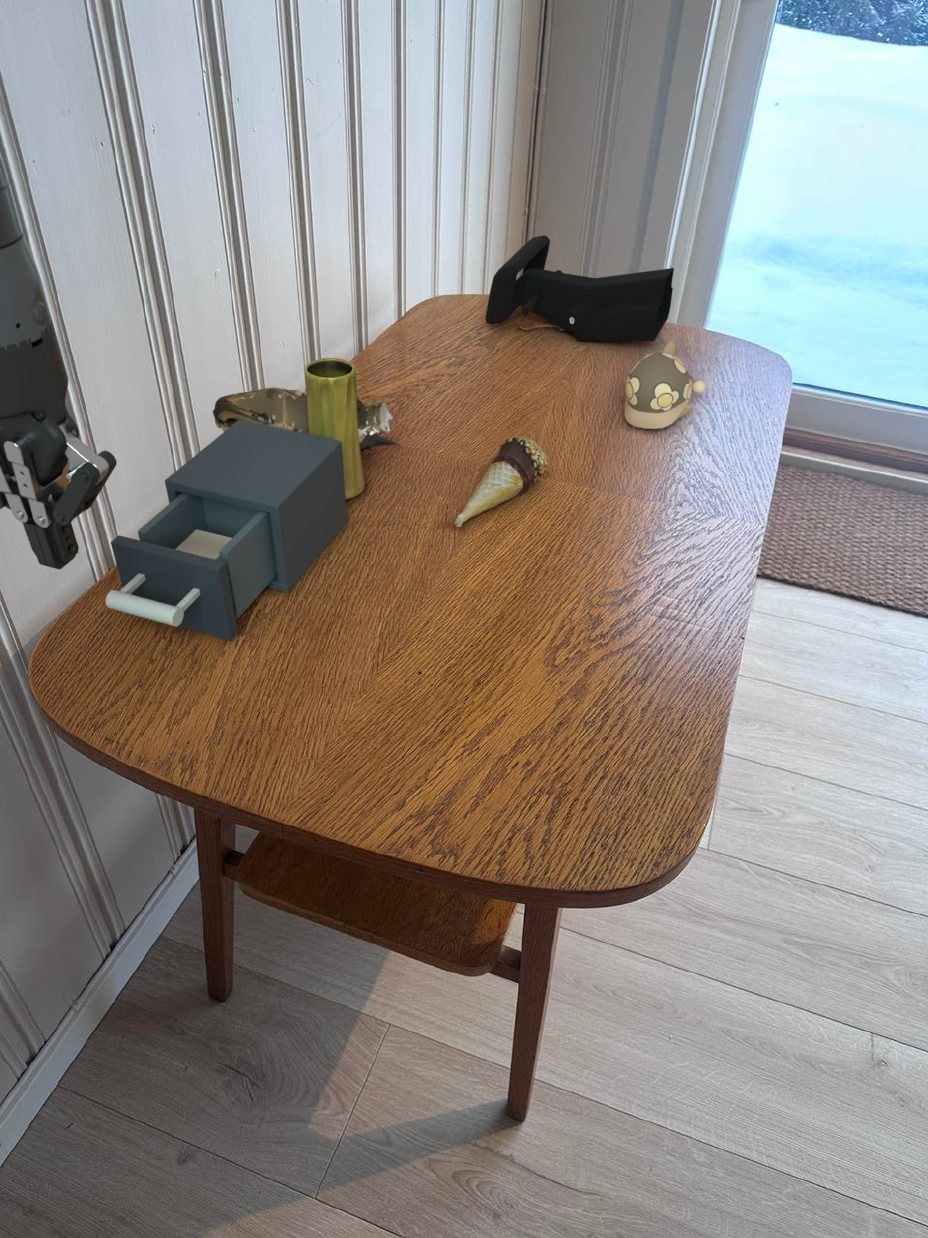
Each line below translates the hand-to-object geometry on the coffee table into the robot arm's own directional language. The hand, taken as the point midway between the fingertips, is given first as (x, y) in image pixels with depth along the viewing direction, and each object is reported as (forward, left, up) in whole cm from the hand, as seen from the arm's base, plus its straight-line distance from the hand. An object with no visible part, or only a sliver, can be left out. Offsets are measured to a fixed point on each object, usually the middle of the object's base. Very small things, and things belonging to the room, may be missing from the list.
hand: (59, 561), depth 62 cm
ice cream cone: (+36, -17, -15) cm, 43 cm away
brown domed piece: (+82, -34, -14) cm, 89 cm away
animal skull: (+38, +4, -5) cm, 39 cm away
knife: (+95, -14, -15) cm, 97 cm away
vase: (+39, -2, -15) cm, 42 cm away
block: (+16, 0, -13) cm, 21 cm away
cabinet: (+26, 0, -15) cm, 30 cm away
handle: (+96, -18, -16) cm, 99 cm away
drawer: (+14, 0, -14) cm, 20 cm away
